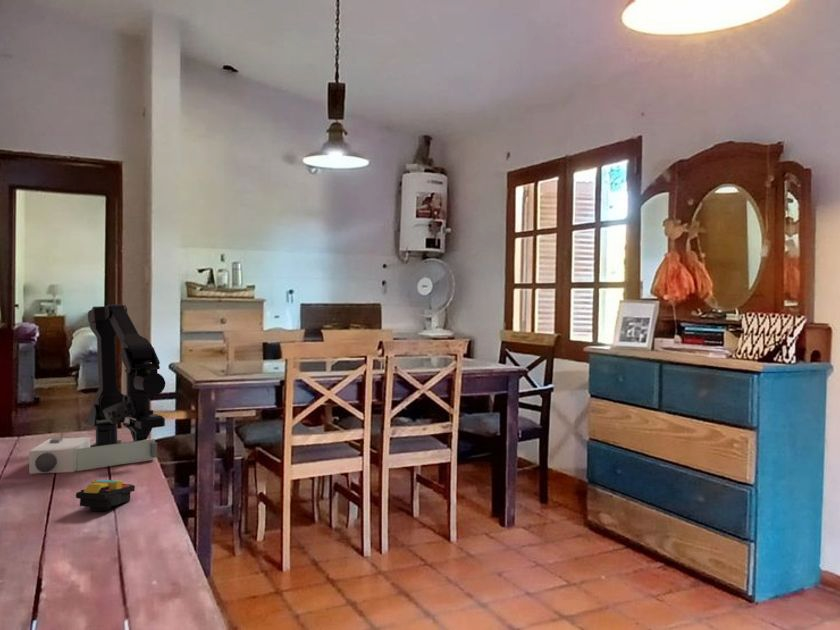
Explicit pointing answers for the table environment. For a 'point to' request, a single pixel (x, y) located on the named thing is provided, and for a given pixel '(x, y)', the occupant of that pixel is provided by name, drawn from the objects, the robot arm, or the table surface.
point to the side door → (115, 454)
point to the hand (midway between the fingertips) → (138, 450)
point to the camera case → (56, 455)
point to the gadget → (105, 494)
